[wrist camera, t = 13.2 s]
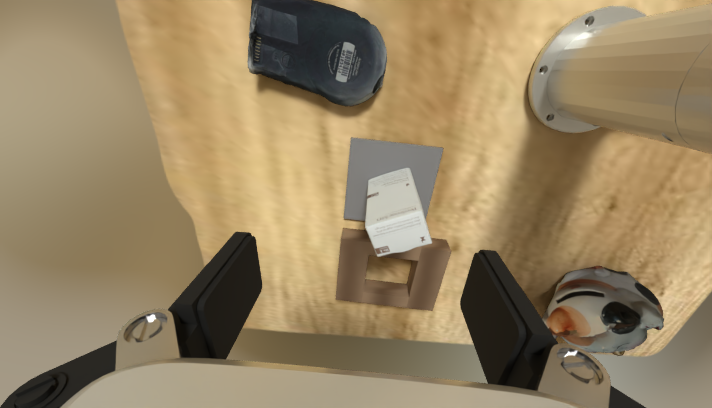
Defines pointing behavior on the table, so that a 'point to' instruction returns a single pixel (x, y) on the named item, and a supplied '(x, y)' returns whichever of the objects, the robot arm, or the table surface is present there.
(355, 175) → the grey rubber mat
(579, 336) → the lucky cat figurine
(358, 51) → the electronic device
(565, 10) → the table surface
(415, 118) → the table surface
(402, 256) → the walnut socket block
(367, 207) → the skincare box
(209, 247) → the table surface
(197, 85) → the table surface
